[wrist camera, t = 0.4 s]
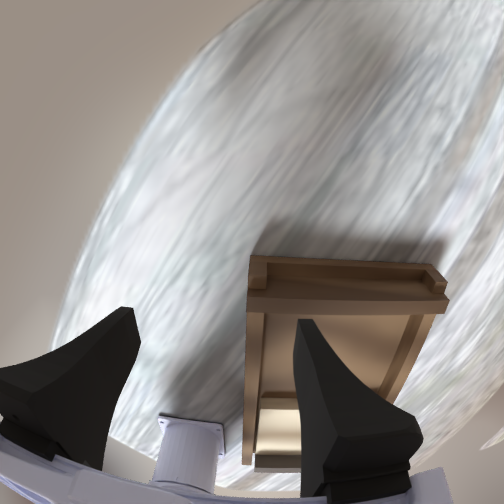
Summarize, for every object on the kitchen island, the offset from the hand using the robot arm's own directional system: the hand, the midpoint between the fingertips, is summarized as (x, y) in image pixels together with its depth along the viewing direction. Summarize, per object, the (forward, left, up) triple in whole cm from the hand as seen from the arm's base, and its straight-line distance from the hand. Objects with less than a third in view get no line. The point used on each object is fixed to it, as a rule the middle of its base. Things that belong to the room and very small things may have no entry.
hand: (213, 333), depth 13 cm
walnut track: (-15, -9, -10) cm, 20 cm away
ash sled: (-22, -9, -9) cm, 25 cm away
